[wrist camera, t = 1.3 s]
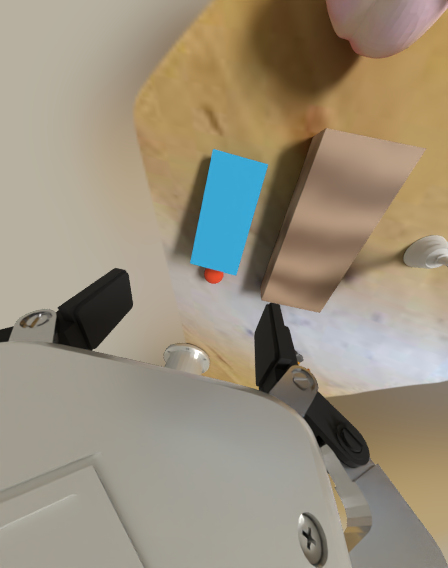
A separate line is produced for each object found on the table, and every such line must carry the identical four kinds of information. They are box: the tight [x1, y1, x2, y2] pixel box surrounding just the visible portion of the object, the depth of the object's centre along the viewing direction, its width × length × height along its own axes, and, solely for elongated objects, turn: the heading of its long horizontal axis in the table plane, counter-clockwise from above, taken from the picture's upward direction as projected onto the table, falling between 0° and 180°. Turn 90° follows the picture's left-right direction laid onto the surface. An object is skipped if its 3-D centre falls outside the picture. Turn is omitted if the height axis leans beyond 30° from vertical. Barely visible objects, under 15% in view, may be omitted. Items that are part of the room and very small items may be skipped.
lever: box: [190, 149, 268, 284], centre depth 26 cm, size 7×7×18 cm
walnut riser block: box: [260, 128, 426, 313], centre depth 24 cm, size 22×10×4 cm, turn 170°
